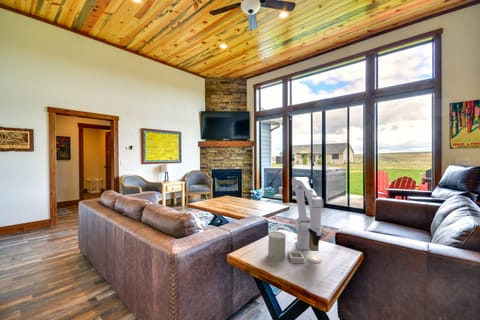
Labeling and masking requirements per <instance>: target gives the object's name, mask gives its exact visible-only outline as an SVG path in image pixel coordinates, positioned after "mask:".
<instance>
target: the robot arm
mask: <svg viewBox="0 0 480 320" xmlns="http://www.w3.org/2000/svg"><path fill="white" fill-rule="evenodd" d="M291 185H292V187H291V188H292V190H293V191H294V193H295V198H296V205H297V211H298V213H297V214H298V217H297V218H296V219H295V221H294V227H295V231H296V232H297V233H296V241H295V245H296V247H297V249H298V250H309V251H311V250H310V249H309V235H312V237H313V244H314V246H318V244H320V240H321V238H322V237H323V233H322V227H321V226H322V224H321V223H322V209H323V208H324V205H325V204H324V199H323V197H321V196H319V195H318V194H317V192H316V191H315V190H314V188H311V185H310V180H309V178H308V176H304V177H300V176H293V177H292V178H291ZM304 192H305V193H304ZM305 197H306V199H307V201H308V207H309V216H308V215H307V209H306V208H307V207H306V203H305V201H306V200H305Z"/></svg>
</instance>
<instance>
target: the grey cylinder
mask: <svg viewBox="0 0 480 320" xmlns="http://www.w3.org/2000/svg"><path fill="white" fill-rule="evenodd" d="M286 237H287V236H286V233H284V232H281V231H271V232H269V233H268V247H267V249H268V250H267V251H268V252H267V257H268V258H269V259H270V260H273V261H277V262H278V261H283V260H285V259H286Z"/></svg>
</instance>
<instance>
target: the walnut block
mask: <svg viewBox="0 0 480 320" xmlns="http://www.w3.org/2000/svg"><path fill="white" fill-rule="evenodd" d="M319 244H320V243H319ZM319 244H318V246H314V244H313V237H312V235H309V249H310V250H309V251H311V252H319Z"/></svg>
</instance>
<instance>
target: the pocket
mask: <svg viewBox="0 0 480 320" xmlns="http://www.w3.org/2000/svg"><path fill="white" fill-rule="evenodd" d="M287 253H288V255H287V256H288V258H289V262H290V263H296V264H297V263H298V264H304V263H305V256H304V255H303V253H302V252H301V251H288V252H287Z"/></svg>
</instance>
